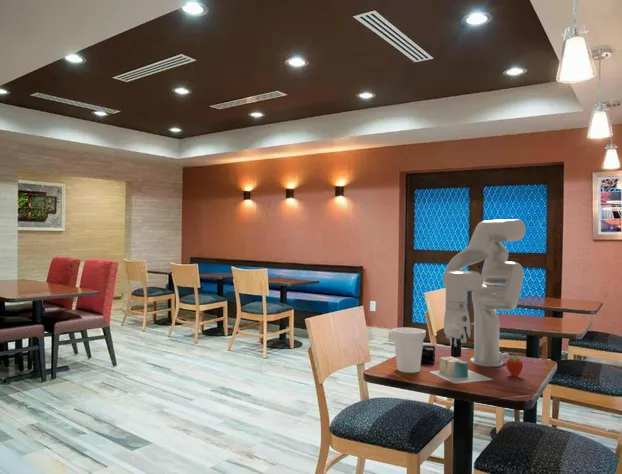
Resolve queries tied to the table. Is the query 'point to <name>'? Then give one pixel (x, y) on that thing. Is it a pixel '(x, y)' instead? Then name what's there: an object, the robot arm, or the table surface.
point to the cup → (408, 348)
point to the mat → (471, 377)
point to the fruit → (514, 366)
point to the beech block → (454, 367)
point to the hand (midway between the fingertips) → (456, 356)
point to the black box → (428, 355)
